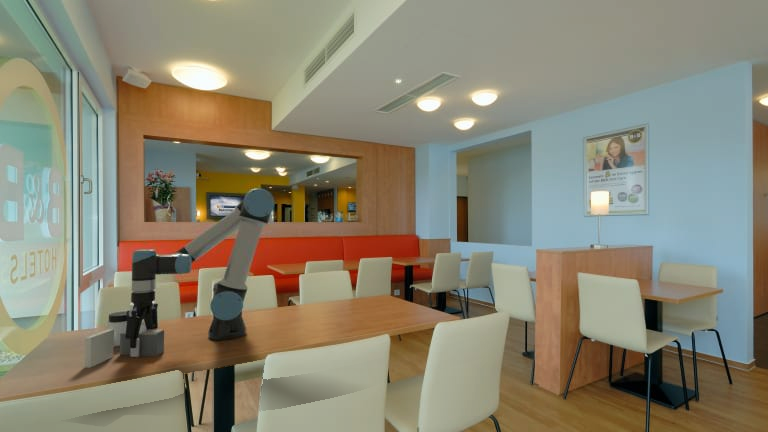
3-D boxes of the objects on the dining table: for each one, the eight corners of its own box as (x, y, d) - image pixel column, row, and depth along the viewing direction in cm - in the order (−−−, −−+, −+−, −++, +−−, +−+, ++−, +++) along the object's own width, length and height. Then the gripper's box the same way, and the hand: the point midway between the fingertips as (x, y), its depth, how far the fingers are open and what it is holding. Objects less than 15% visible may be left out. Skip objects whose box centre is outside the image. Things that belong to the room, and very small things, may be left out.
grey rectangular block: (163, 352, 139) (164, 329, 139) (156, 356, 135) (157, 332, 135) (127, 351, 140) (128, 329, 140) (119, 355, 135) (120, 332, 136)
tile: (113, 357, 134) (113, 329, 134) (90, 367, 124) (91, 337, 124) (107, 356, 134) (108, 329, 134) (84, 367, 124) (84, 337, 124)
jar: (105, 348, 143) (106, 317, 143) (107, 342, 150) (108, 312, 150) (133, 344, 148) (134, 314, 148) (134, 338, 155) (134, 310, 155)
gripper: (151, 286, 148) (149, 344, 147) (113, 295, 128) (111, 362, 127) (169, 286, 148) (168, 344, 147) (134, 296, 128) (132, 362, 127)
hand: (141, 352), depth 137 cm, fingers open, 7 cm apart
